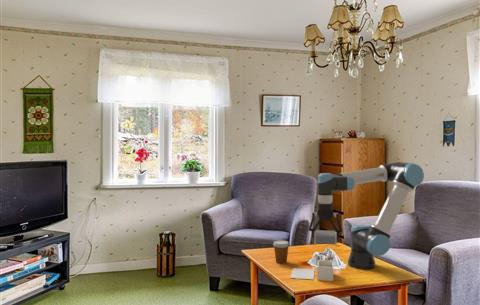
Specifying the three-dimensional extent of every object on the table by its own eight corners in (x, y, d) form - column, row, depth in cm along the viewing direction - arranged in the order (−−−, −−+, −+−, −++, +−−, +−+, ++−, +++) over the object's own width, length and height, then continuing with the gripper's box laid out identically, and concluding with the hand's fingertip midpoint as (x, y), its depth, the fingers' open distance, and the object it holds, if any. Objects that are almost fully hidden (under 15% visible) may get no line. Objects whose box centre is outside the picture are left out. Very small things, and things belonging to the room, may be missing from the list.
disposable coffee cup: (287, 265, 235) (287, 244, 235) (271, 263, 238) (271, 243, 238) (291, 260, 244) (290, 240, 244) (275, 259, 247) (275, 239, 247)
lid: (335, 238, 220) (335, 230, 219) (335, 244, 207) (335, 236, 207) (316, 237, 222) (316, 230, 222) (315, 243, 209) (315, 235, 209)
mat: (314, 270, 226) (314, 269, 226) (313, 280, 210) (313, 279, 210) (293, 268, 229) (293, 268, 229) (290, 278, 213) (290, 277, 213)
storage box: (333, 273, 220) (333, 261, 219) (333, 281, 209) (333, 267, 208) (317, 272, 221) (317, 260, 221) (317, 280, 210) (317, 266, 210)
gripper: (303, 203, 212) (303, 245, 213) (347, 204, 207) (347, 247, 208) (304, 201, 220) (304, 241, 221) (347, 202, 215) (347, 243, 216)
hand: (325, 244), depth 214 cm, fingers closed on lid, 10 cm apart
